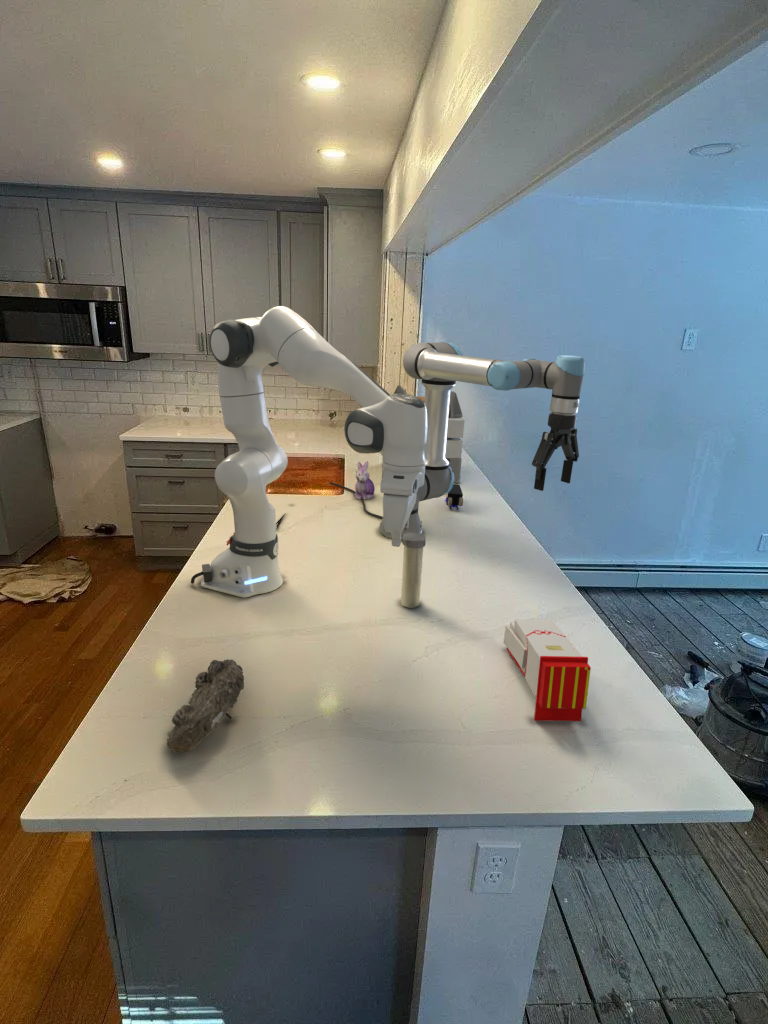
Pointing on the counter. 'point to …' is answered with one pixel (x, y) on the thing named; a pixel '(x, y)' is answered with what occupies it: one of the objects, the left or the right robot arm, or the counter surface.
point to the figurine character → (454, 497)
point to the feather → (279, 521)
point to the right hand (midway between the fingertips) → (552, 485)
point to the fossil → (206, 705)
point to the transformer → (450, 433)
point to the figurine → (364, 483)
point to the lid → (414, 540)
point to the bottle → (411, 577)
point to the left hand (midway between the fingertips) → (400, 537)
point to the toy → (549, 668)
